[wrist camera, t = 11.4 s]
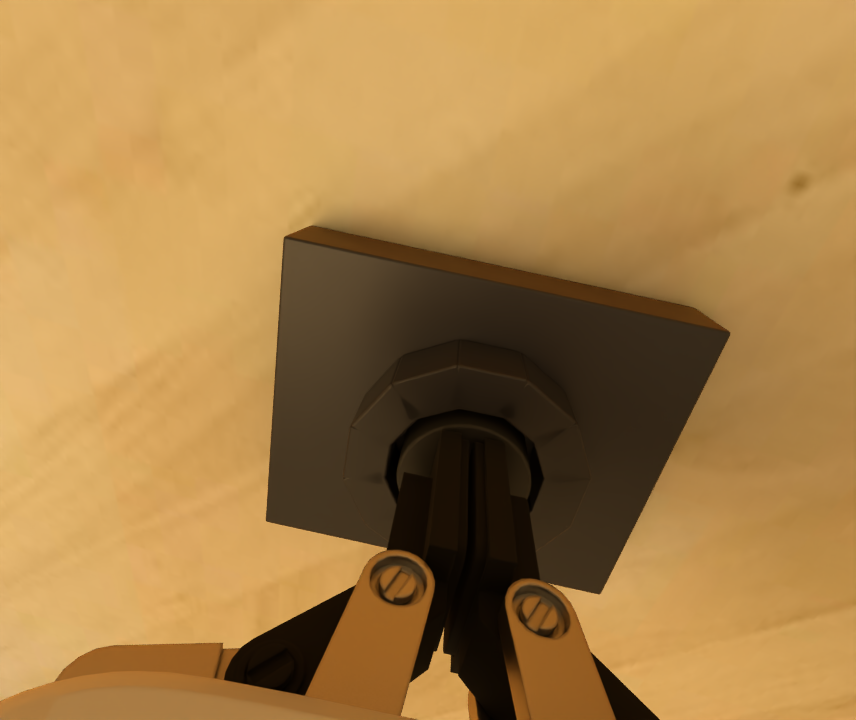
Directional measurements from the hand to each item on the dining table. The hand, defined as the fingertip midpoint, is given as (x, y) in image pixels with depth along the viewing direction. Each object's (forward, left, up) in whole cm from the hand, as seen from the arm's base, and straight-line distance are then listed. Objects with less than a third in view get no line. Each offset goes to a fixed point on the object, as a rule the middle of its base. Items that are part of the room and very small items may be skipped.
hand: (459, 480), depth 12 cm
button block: (0, 0, -4) cm, 4 cm away
